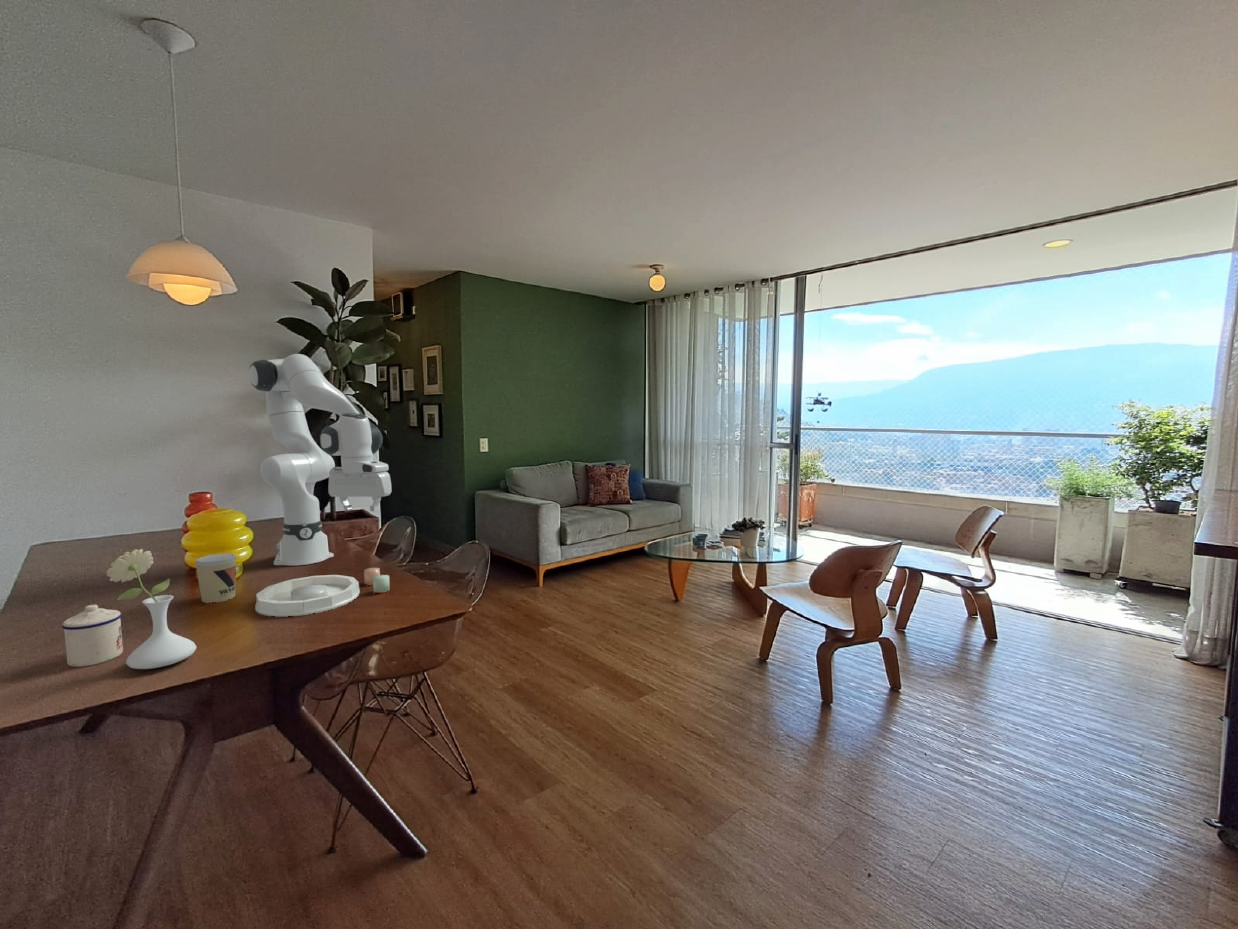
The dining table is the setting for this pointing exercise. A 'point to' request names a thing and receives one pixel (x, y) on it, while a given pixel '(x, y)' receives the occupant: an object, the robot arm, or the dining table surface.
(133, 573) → the flower in vase
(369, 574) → the terracotta bead
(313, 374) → the robot arm
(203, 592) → the coffee cup
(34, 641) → the dining table surface
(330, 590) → the groove tray
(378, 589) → the sage bead
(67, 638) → the teacup with lid
